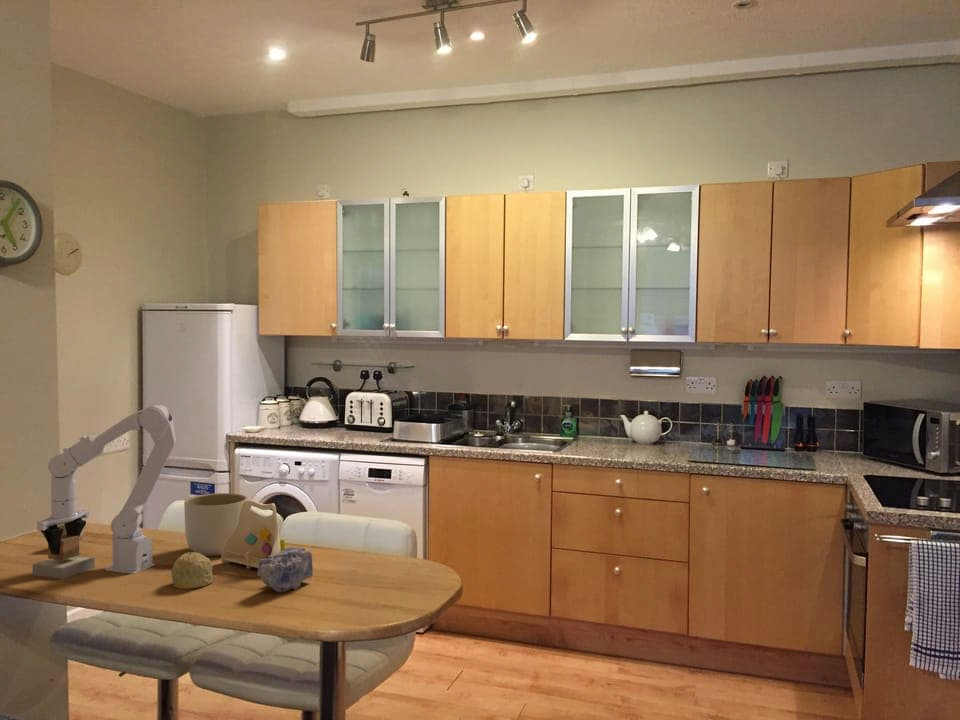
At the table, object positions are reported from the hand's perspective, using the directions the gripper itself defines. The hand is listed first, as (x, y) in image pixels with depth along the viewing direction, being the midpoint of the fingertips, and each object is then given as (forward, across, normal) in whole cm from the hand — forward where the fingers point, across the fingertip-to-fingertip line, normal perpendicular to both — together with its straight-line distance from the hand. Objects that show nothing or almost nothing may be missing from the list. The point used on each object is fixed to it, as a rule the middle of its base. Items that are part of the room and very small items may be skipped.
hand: (64, 551), depth 195 cm
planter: (+6, -29, +25) cm, 39 cm away
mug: (+6, -20, -19) cm, 29 cm away
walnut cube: (+1, 0, 0) cm, 1 cm away
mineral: (+6, -6, +61) cm, 62 cm away
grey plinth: (+6, 0, 0) cm, 6 cm away
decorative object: (+6, -4, +40) cm, 41 cm away
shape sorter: (+6, -21, +45) cm, 50 cm away
